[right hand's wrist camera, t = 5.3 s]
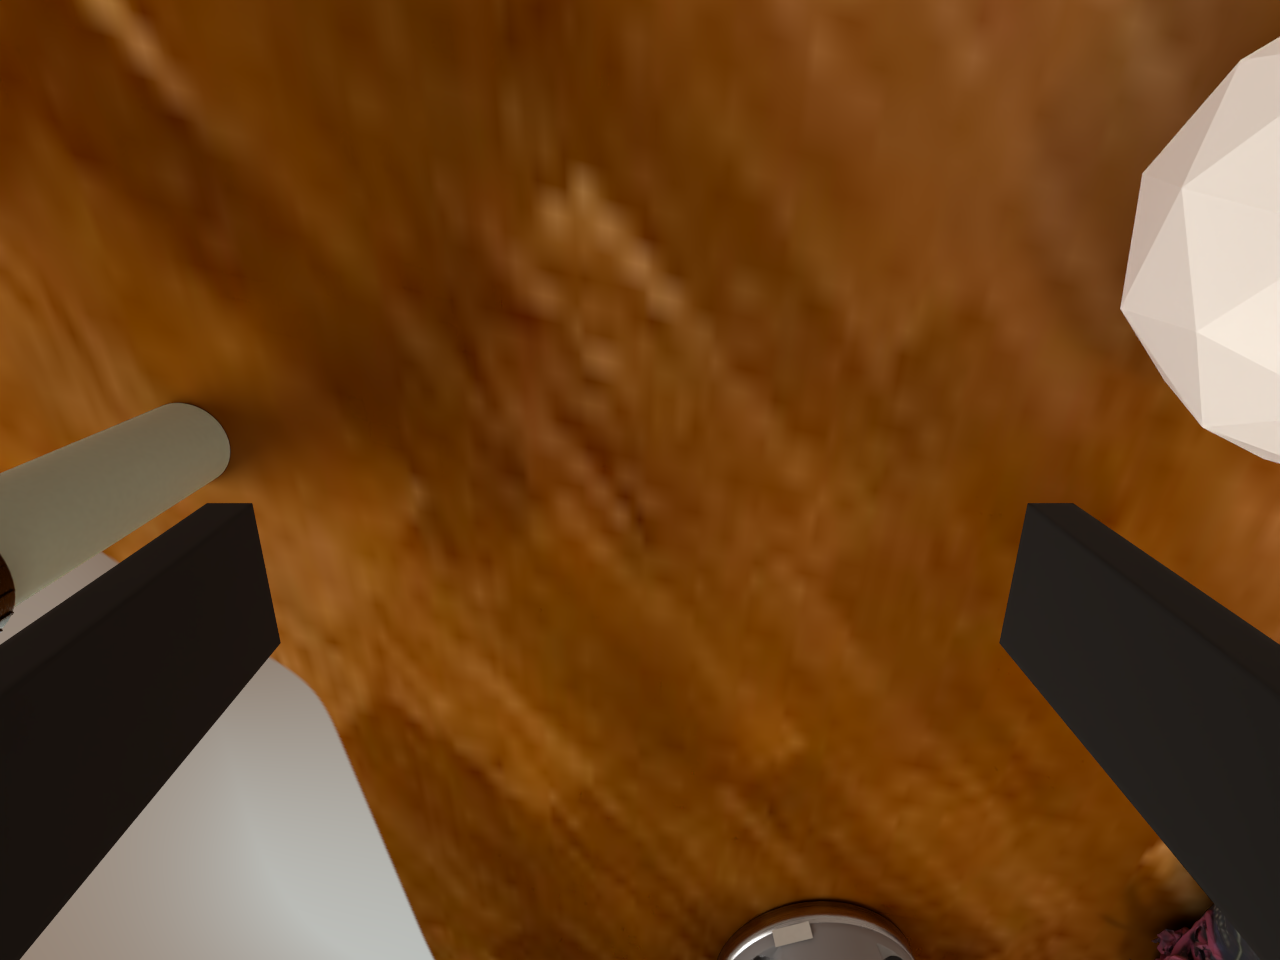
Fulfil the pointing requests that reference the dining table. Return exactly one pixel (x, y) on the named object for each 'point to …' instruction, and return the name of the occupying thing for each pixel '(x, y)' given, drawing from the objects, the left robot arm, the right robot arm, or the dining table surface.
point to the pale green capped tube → (103, 490)
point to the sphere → (1216, 259)
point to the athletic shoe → (1205, 940)
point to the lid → (6, 593)
